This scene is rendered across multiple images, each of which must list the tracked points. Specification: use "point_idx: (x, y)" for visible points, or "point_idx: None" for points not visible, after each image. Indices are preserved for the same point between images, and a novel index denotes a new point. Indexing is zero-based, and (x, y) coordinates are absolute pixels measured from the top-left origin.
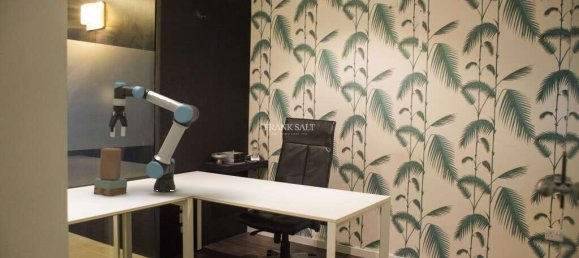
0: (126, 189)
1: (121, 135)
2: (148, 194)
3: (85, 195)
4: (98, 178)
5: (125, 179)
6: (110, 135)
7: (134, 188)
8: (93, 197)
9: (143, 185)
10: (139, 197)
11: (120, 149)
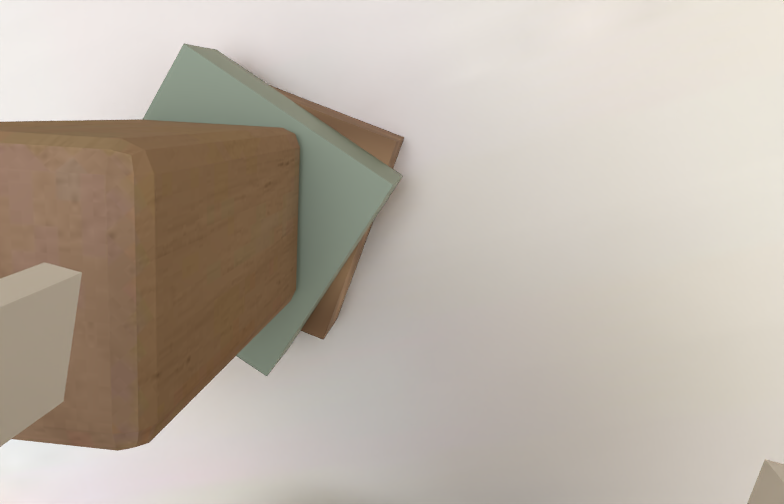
0: (329, 329)
1: (766, 489)
2: (315, 500)
3: (140, 14)
4: (223, 76)
5: (251, 362)
6: (13, 277)
7: (577, 342)
8: (81, 110)
9: (771, 394)
10: (179, 453)
11: (101, 446)
